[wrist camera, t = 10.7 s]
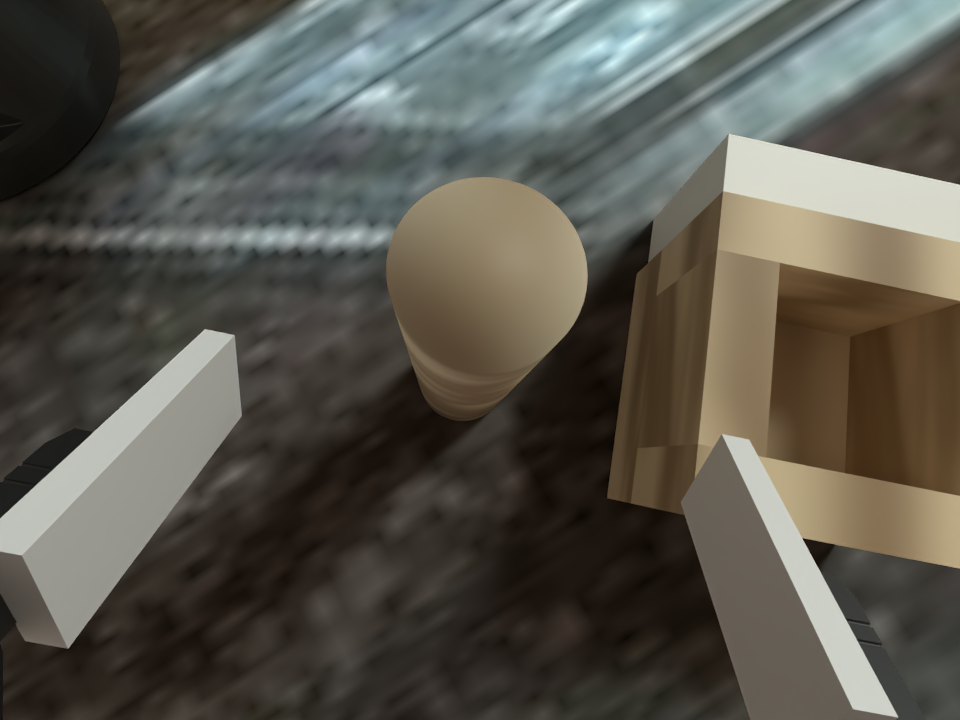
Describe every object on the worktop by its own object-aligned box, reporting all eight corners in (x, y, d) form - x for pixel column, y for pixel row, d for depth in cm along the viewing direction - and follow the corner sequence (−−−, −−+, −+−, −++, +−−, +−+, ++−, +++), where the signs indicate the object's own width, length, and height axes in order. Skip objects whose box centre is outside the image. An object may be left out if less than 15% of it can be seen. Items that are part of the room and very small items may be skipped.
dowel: (411, 412, 23) (365, 347, 10) (429, 329, 24) (409, 159, 10) (497, 428, 24) (572, 387, 10) (511, 345, 24) (599, 198, 11)
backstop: (647, 264, 26) (723, 193, 19) (653, 219, 26) (729, 133, 19) (949, 328, 26) (1129, 281, 19) (949, 282, 27) (1124, 221, 20)
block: (606, 498, 23) (690, 516, 15) (636, 274, 26) (723, 190, 18) (837, 542, 24) (1034, 582, 16) (846, 318, 26) (1022, 255, 18)
